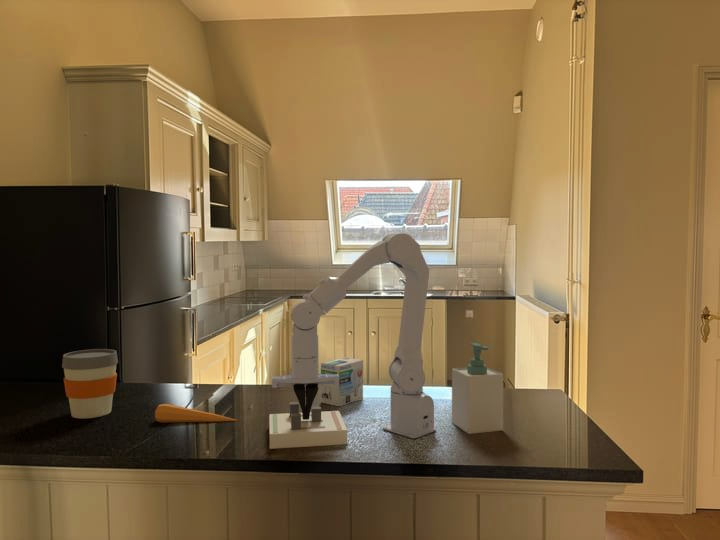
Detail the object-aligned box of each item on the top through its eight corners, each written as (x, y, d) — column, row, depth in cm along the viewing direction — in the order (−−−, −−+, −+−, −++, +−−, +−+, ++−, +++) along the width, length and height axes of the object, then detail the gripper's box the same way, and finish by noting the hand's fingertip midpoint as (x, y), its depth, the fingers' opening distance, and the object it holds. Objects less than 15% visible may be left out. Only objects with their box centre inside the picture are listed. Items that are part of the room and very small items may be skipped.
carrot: (152, 426, 131) (151, 410, 129) (159, 414, 135) (158, 398, 133) (237, 434, 131) (237, 419, 129) (241, 422, 135) (241, 407, 133)
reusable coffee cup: (99, 403, 147) (97, 347, 147) (129, 410, 141) (128, 351, 140) (52, 415, 137) (50, 355, 136) (83, 423, 130) (81, 360, 130)
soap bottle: (468, 434, 122) (469, 348, 121) (451, 422, 130) (451, 341, 129) (503, 431, 124) (504, 346, 123) (484, 419, 132) (485, 340, 132)
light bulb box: (339, 407, 143) (339, 366, 143) (319, 403, 147) (319, 362, 147) (364, 398, 152) (364, 359, 151) (345, 394, 156) (344, 356, 155)
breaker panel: (338, 423, 130) (338, 398, 129) (347, 444, 116) (347, 415, 116) (269, 427, 127) (269, 401, 127) (269, 448, 113) (269, 419, 113)
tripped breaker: (320, 417, 123) (320, 406, 123) (321, 420, 121) (321, 408, 121) (311, 418, 122) (311, 406, 122) (312, 421, 121) (311, 409, 120)
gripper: (336, 351, 126) (336, 411, 126) (271, 354, 124) (272, 414, 124) (340, 357, 119) (340, 420, 119) (271, 360, 117) (272, 424, 117)
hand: (305, 418), depth 121 cm, fingers closed
